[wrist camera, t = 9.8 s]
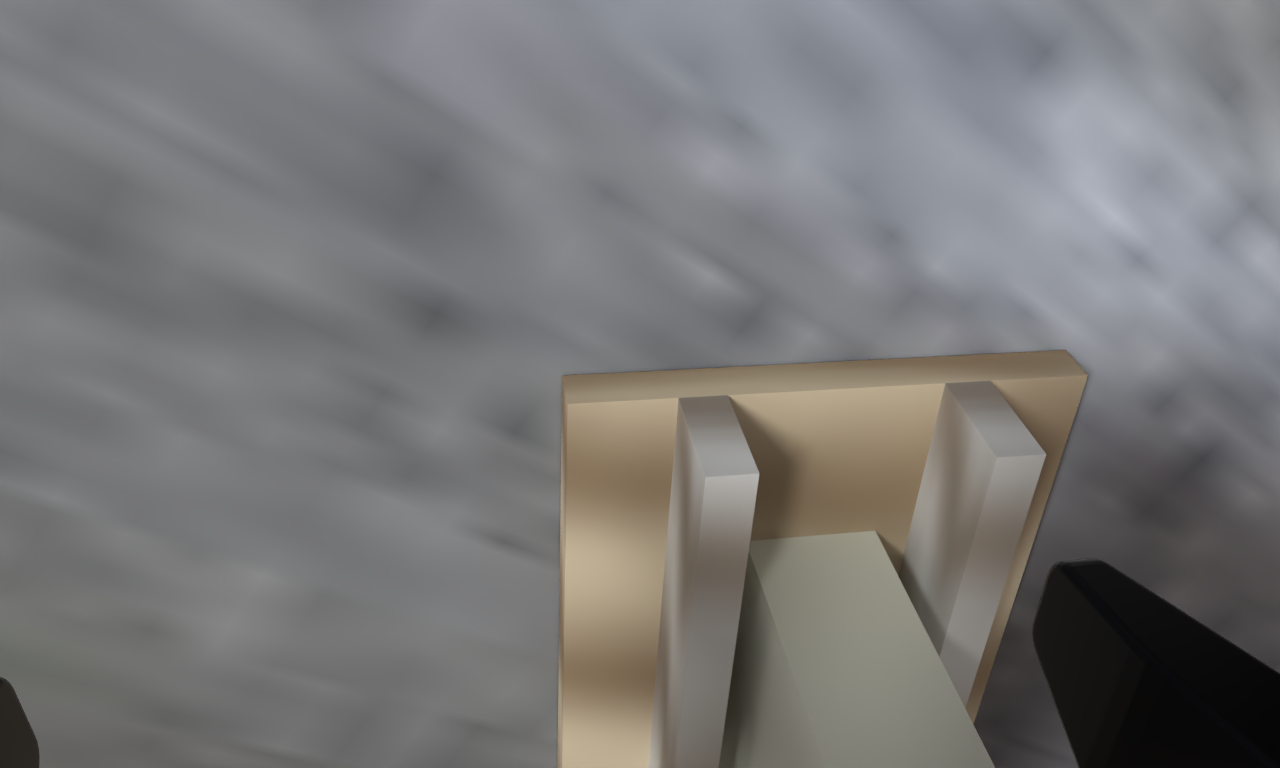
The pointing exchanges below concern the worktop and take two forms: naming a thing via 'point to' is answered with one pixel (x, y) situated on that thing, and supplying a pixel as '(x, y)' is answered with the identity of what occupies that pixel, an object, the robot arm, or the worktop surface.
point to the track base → (784, 520)
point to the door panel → (838, 666)
